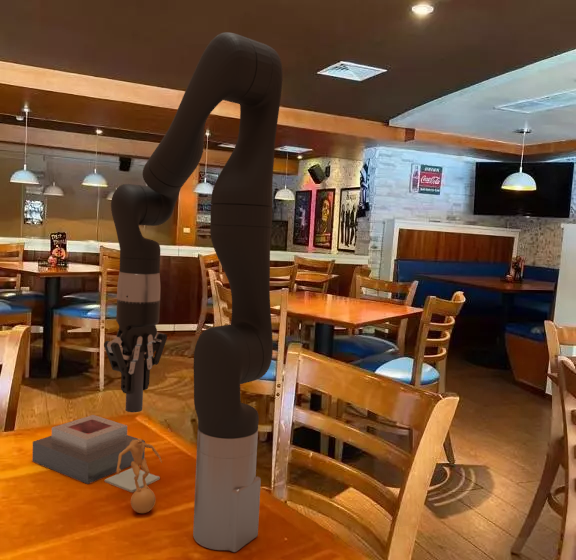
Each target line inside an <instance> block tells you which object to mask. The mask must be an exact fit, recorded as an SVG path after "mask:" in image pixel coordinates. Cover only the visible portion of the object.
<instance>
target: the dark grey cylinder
mask: <svg viewBox="0 0 576 560" xmlns="http://www.w3.org/2000/svg"><path fill="white" fill-rule="evenodd" d="M127 354H128V355H129V356H131V355H132V354H129V353H127ZM144 355H145V351H142V352H139V357H138V361H136V363H135V369H134V373H133V374H134V393H132V394H126V393H125V412H128V413H140V412H141V411H143V401H144V390H143V380H144V360H145V358H144ZM128 364H129V361H128V362H127V366H128Z"/></svg>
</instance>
